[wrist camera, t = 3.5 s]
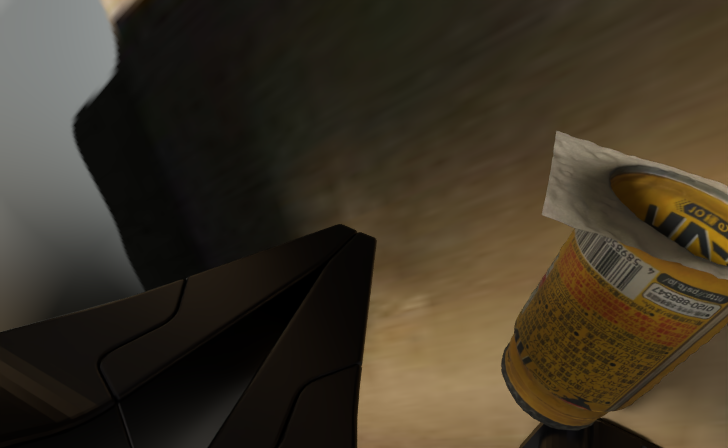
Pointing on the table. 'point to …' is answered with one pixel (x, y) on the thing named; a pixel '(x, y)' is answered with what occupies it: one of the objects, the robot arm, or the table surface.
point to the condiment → (618, 284)
